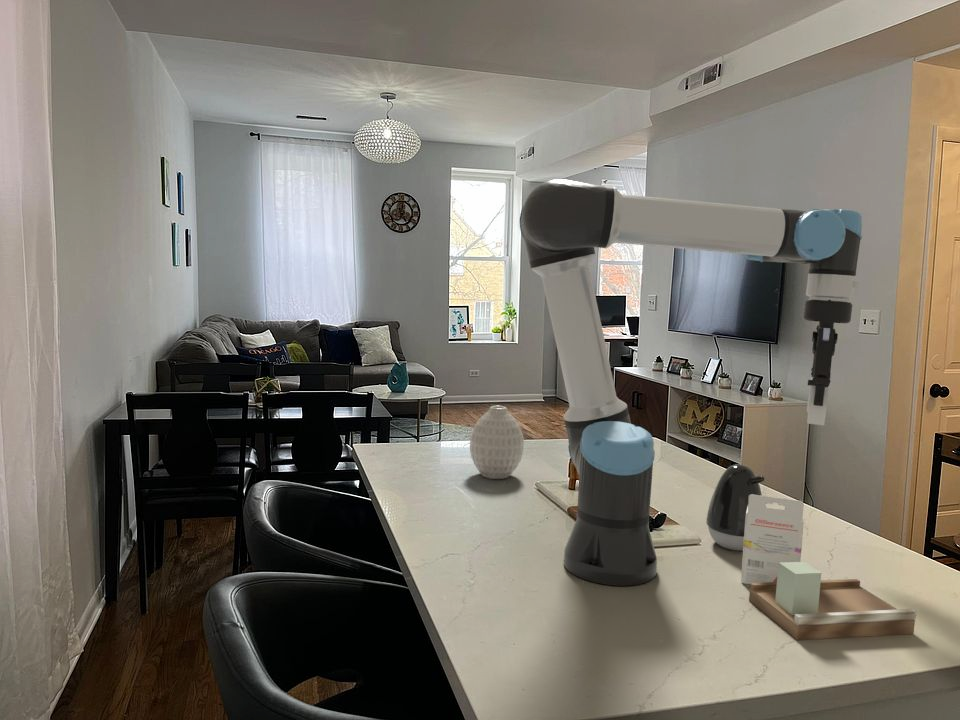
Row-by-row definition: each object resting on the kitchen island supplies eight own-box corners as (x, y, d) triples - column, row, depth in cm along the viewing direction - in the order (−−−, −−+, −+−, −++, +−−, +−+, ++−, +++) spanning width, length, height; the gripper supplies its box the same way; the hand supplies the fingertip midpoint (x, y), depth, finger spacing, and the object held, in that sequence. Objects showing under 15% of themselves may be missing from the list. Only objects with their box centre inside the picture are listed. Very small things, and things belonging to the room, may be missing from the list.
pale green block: (791, 615, 101) (795, 573, 100) (775, 602, 105) (778, 562, 104) (817, 614, 102) (821, 572, 101) (800, 601, 106) (803, 561, 105)
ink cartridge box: (797, 582, 118) (805, 493, 116) (798, 594, 113) (806, 502, 112) (741, 572, 121) (748, 486, 119) (739, 583, 116) (747, 494, 115)
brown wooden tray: (797, 640, 98) (799, 617, 98) (748, 600, 110) (750, 580, 110) (914, 634, 101) (916, 612, 101) (854, 596, 113) (857, 576, 113)
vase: (531, 475, 176) (535, 407, 174) (504, 486, 165) (508, 414, 163) (486, 465, 183) (489, 400, 181) (458, 476, 172) (460, 406, 170)
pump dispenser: (736, 559, 126) (743, 474, 125) (693, 539, 135) (699, 460, 134) (777, 551, 131) (784, 469, 129) (732, 533, 140) (739, 455, 138)
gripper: (857, 301, 115) (841, 432, 117) (848, 300, 138) (835, 411, 140) (805, 298, 118) (791, 426, 120) (805, 298, 141) (793, 406, 143)
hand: (815, 418), depth 130 cm, fingers open, 13 cm apart
